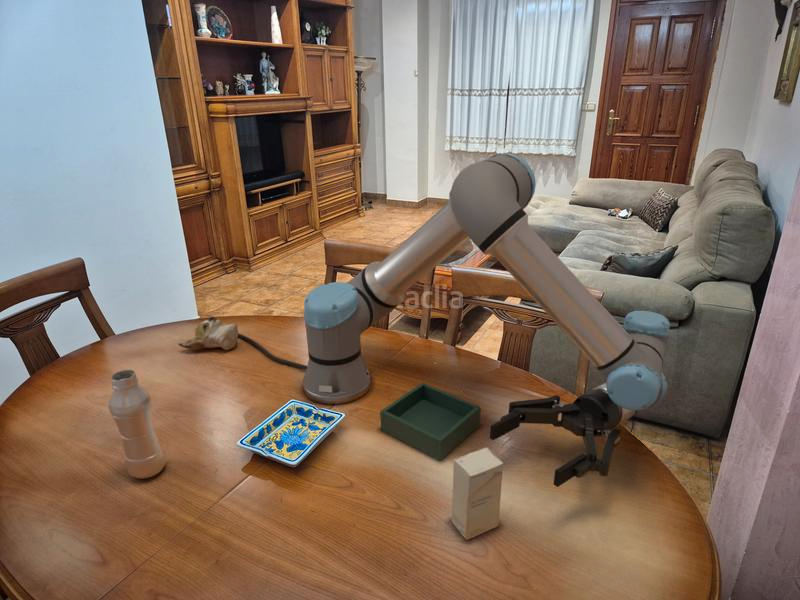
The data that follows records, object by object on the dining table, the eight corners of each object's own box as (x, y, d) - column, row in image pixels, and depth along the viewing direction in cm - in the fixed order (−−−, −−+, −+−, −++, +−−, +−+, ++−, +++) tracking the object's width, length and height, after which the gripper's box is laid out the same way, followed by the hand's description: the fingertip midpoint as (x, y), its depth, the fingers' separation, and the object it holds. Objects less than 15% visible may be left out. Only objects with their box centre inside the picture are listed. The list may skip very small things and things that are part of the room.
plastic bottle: (153, 486, 89) (128, 387, 81) (119, 481, 90) (91, 383, 82) (176, 461, 94) (153, 367, 87) (143, 456, 96) (119, 363, 88)
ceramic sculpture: (223, 327, 127) (171, 325, 130) (230, 358, 130) (179, 355, 133) (245, 310, 136) (195, 309, 140) (251, 339, 139) (202, 337, 143)
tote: (380, 430, 102) (380, 411, 100) (422, 399, 112) (422, 382, 110) (440, 461, 93) (440, 441, 92) (479, 425, 103) (480, 406, 101)
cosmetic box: (466, 541, 77) (469, 477, 72) (450, 521, 80) (451, 459, 76) (500, 525, 79) (504, 463, 75) (483, 506, 83) (486, 445, 78)
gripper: (666, 462, 84) (585, 521, 73) (547, 395, 103) (468, 434, 92) (674, 424, 81) (592, 480, 70) (550, 362, 101) (469, 398, 89)
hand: (521, 454), depth 81 cm, fingers open, 13 cm apart
